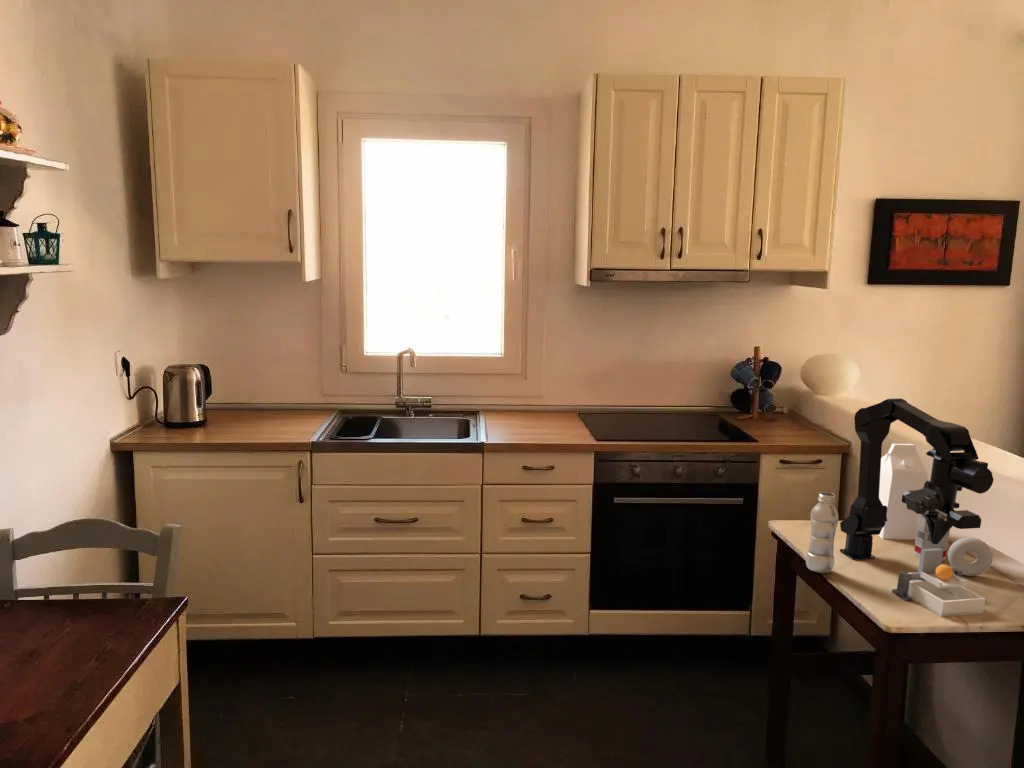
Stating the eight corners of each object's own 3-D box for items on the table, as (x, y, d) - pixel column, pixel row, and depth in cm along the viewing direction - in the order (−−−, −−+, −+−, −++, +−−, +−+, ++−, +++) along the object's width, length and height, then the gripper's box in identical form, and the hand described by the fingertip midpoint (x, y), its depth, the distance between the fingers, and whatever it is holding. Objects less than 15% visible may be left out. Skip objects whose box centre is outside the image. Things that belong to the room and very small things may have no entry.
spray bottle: (933, 562, 210) (946, 470, 206) (907, 552, 216) (919, 462, 212) (952, 558, 214) (965, 467, 209) (926, 548, 220) (938, 460, 216)
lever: (885, 582, 195) (890, 540, 193) (928, 579, 198) (934, 538, 196) (926, 607, 182) (932, 563, 180) (972, 603, 185) (979, 560, 183)
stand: (891, 592, 191) (894, 569, 190) (948, 588, 194) (951, 565, 193) (906, 601, 186) (909, 577, 185) (964, 597, 190) (967, 573, 189)
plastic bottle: (835, 577, 198) (844, 499, 194) (806, 574, 199) (815, 496, 196) (830, 567, 204) (839, 491, 200) (802, 564, 205) (810, 489, 202)
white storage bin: (905, 595, 189) (907, 581, 189) (946, 592, 192) (948, 578, 191) (941, 616, 179) (943, 602, 178) (983, 613, 181) (985, 598, 181)
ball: (931, 576, 187) (933, 562, 186) (943, 575, 188) (945, 561, 187) (942, 583, 183) (944, 568, 183) (955, 582, 184) (957, 567, 184)
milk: (901, 525, 239) (912, 439, 234) (923, 539, 227) (935, 450, 223) (862, 524, 238) (872, 438, 233) (882, 538, 226) (893, 449, 222)
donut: (987, 575, 203) (993, 538, 201) (991, 581, 200) (997, 542, 198) (943, 569, 206) (949, 532, 204) (947, 575, 202) (952, 537, 201)
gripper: (886, 468, 192) (878, 530, 195) (945, 493, 174) (934, 561, 177) (926, 467, 195) (917, 528, 198) (988, 492, 177) (977, 559, 180)
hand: (934, 543), depth 188 cm, fingers closed
